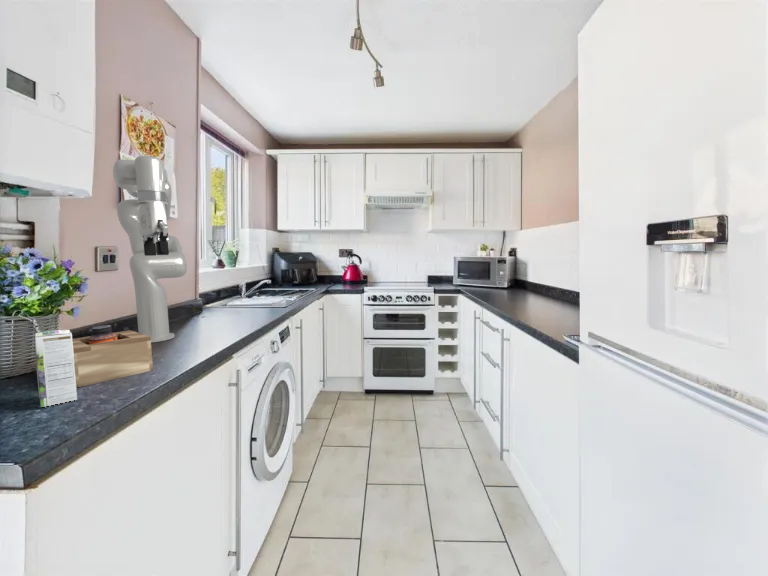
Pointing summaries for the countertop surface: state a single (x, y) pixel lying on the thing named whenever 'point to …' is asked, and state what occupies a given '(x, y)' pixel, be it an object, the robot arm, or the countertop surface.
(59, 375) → the syrup box
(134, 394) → the countertop surface
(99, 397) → the countertop surface
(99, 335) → the supplement bottle
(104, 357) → the drop box
